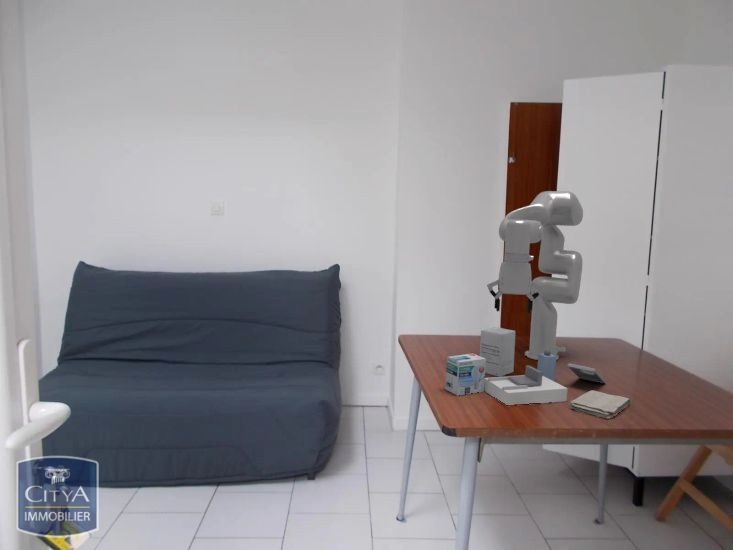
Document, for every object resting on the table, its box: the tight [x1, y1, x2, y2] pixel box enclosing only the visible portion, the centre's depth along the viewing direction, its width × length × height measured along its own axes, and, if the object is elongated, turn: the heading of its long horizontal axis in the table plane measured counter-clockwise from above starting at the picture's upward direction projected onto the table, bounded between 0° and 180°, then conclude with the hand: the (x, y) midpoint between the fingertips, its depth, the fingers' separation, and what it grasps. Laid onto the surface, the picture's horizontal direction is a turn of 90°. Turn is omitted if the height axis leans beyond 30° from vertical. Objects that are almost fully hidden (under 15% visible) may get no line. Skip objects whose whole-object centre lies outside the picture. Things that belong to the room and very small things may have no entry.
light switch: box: [567, 363, 607, 384], centre depth 172 cm, size 8×6×14 cm
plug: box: [536, 350, 557, 382], centre depth 172 cm, size 4×4×12 cm
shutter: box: [509, 365, 542, 386], centre depth 161 cm, size 7×7×4 cm
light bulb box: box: [445, 353, 486, 397], centre depth 164 cm, size 11×7×11 cm, turn 118°
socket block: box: [484, 374, 568, 406], centre depth 161 cm, size 20×14×5 cm
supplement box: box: [479, 326, 516, 377], centre depth 184 cm, size 9×9×15 cm
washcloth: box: [569, 390, 631, 420], centre depth 153 cm, size 12×18×3 cm, turn 138°
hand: (512, 311), depth 170 cm, fingers open, 9 cm apart
